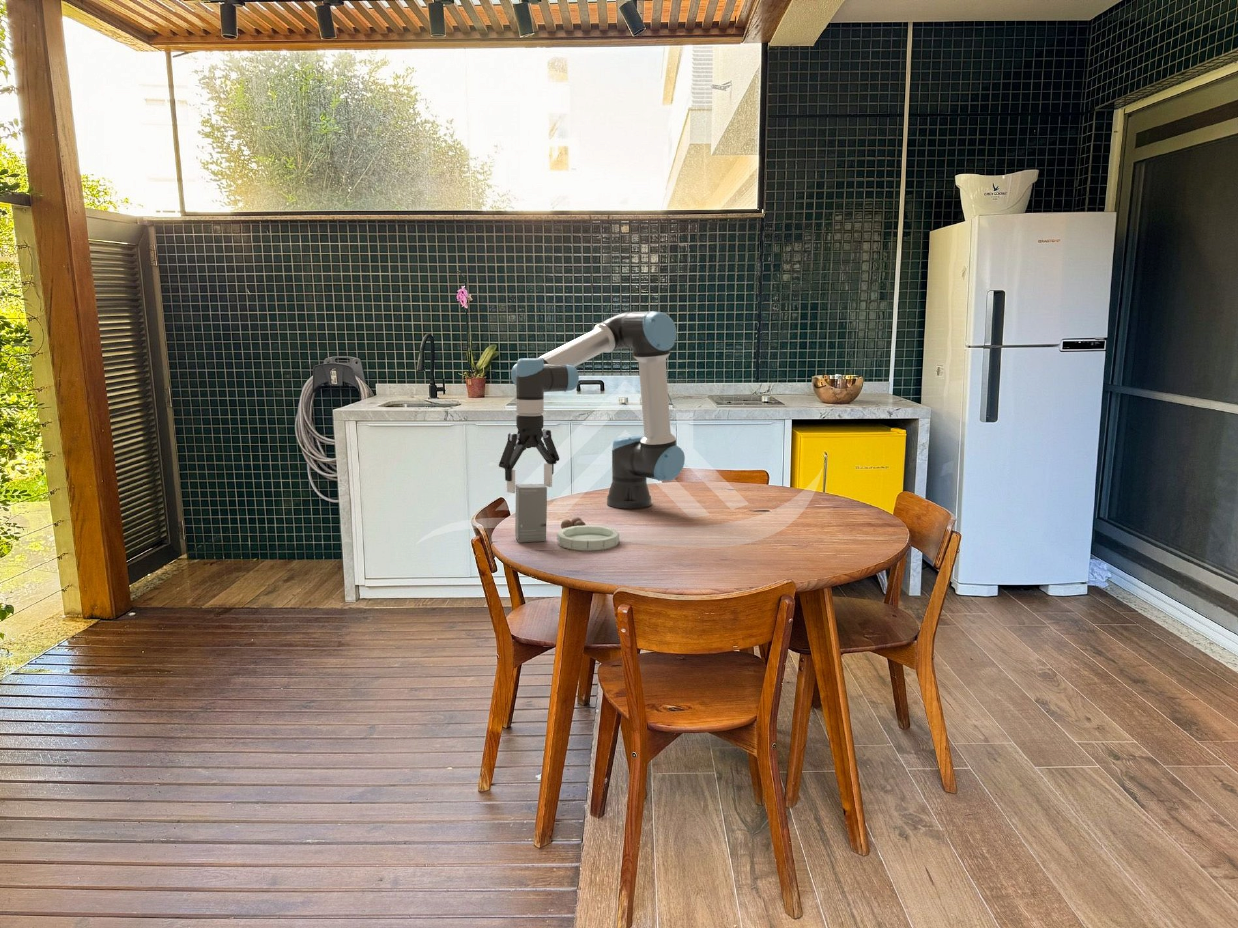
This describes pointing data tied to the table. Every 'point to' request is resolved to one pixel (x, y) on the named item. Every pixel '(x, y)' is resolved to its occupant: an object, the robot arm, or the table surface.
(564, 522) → the bead
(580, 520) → the bead
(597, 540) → the tray
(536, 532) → the skincare box
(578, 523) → the bead
